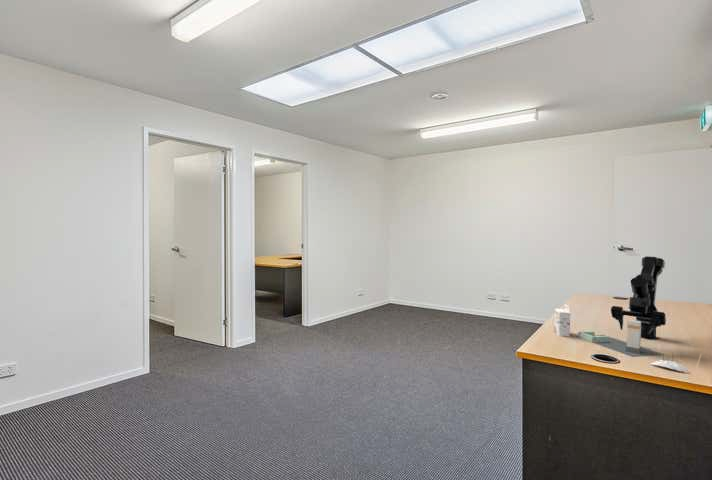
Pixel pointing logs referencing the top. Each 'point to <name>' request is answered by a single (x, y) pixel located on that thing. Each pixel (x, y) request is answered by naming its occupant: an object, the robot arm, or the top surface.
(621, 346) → the mat
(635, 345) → the white rectangular container
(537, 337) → the top surface
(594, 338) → the holder
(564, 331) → the ink cartridge box
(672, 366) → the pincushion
